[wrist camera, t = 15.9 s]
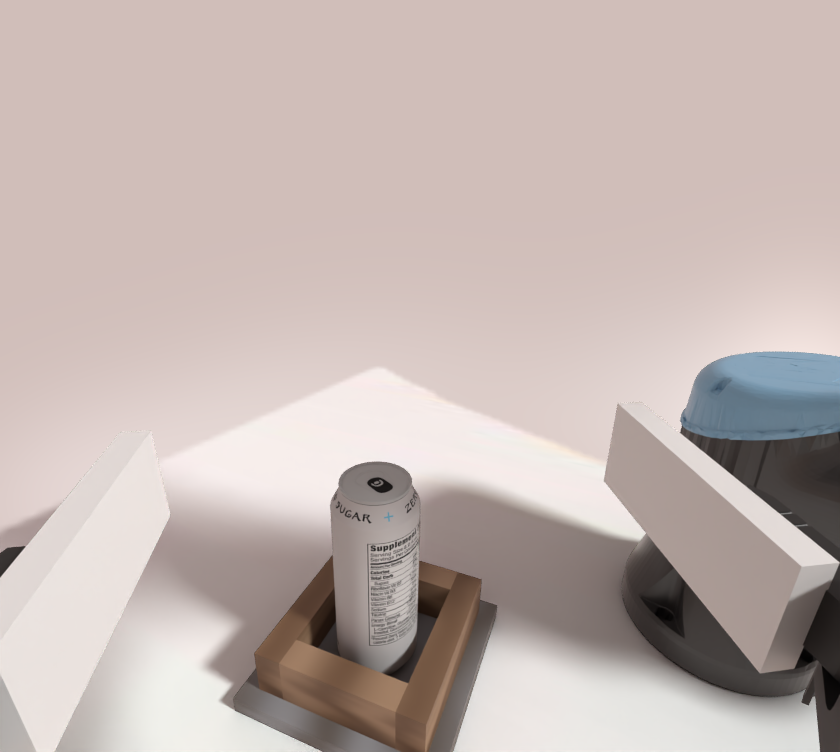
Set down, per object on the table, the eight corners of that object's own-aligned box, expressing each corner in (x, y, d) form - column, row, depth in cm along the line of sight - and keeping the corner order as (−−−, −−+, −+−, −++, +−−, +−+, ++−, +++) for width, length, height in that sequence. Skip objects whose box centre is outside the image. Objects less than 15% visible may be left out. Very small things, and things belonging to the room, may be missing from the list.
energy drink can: (384, 604, 43) (384, 448, 37) (432, 652, 38) (440, 484, 33) (322, 643, 39) (312, 476, 34) (368, 701, 35) (364, 521, 29)
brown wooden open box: (496, 615, 43) (500, 573, 41) (436, 804, 30) (438, 754, 29) (342, 566, 48) (340, 526, 47) (235, 710, 35) (226, 662, 34)
